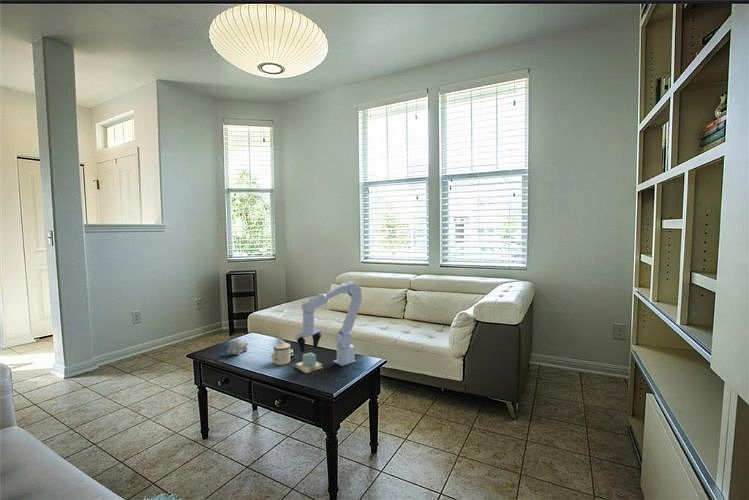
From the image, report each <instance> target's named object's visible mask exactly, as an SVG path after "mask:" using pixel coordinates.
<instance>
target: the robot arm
mask: <svg viewBox="0 0 749 500" xmlns="http://www.w3.org/2000/svg"><path fill="white" fill-rule="evenodd" d="M340 294H347V295H349V297H350V299H351V301H350V304H349V306H348V310H347V312H346V315H345V319H344V322H343V324H342V327H341V328H339V330H338V332H337V333H336V334H335V338H334V339H335V342H336V360H335V359H334V360H333V362H334V363H335V364H337V365H340V366H346V365H349V364H352V363H356V360H355V359H356V358H355V357H356V356H355V355H356V350H355V346H354V345H353V344H352V342H353V341H352V337H353V332H352V330H353V327H354V324H355V322H356V319H357V315H358V313H359V309H360V307H361V304H362V301H363V297H362V288H361V287H360V285H359V284H358V283H357V282H353V281H352V280H346V281H345V282H342V283H340V285H338V286H336V287H335V288H333V289H331V290H329V291H328V292H326V293H320V292H319V293H317V295H315V296H314V297H311V298H308V299H307V300H304V301H303V302H302V304H301V309H302V332H299V333H297V334H295V340H296V341H297V343H298V346H299V348H300V352H302V353H304V352H305V344H306V343H305V342H306V339H305V338H306V337H311V336H312V342H313V343H312V345H313V346H312V347H313V348H314V349H318V344H319V342H320V339H321V338H322V329H315V311H316V310H317V309H318V308H320V307H322V306H324V305H325V304H327V303H328V300H330V299H332V298H334V297H336V296H338V295H340Z"/></svg>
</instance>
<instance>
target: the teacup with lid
mask: <svg viewBox="0 0 749 500" xmlns="http://www.w3.org/2000/svg"><path fill="white" fill-rule="evenodd" d="M284 341H285V340H280V341H279V342H278V343H276V344H274V346H273V347H272V348H273V352H272V353H271V360H272V361H273V363H274V364H275V365H277V366H283V365H287V364H290V362H291V348H292V347H291V344H290V343H287V342H284Z"/></svg>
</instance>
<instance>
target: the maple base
mask: <svg viewBox="0 0 749 500" xmlns="http://www.w3.org/2000/svg"><path fill="white" fill-rule="evenodd" d="M295 368H296V369H297V370H299V371H301V372H303V373H304V374H308V373H311V372H314V371H318V370H320V369H321V370H322V369H323V363H321V362H319V361H317V360H316V365H313V366H309V367H307V366H305V365H303V361H300V362H297V363H295Z"/></svg>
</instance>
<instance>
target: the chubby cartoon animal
mask: <svg viewBox="0 0 749 500" xmlns="http://www.w3.org/2000/svg"><path fill="white" fill-rule="evenodd" d="M248 349H249V345H248V342H245V341H244V342H243V341H242V340H241V339H240V338H239V339H237V338H235V339H233V340H232V341H231V342H230V344H229V348H228V349H227V353H228V354H232V355H235V356H239V355H241V351H243V352H244V353H245V352H248Z"/></svg>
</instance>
